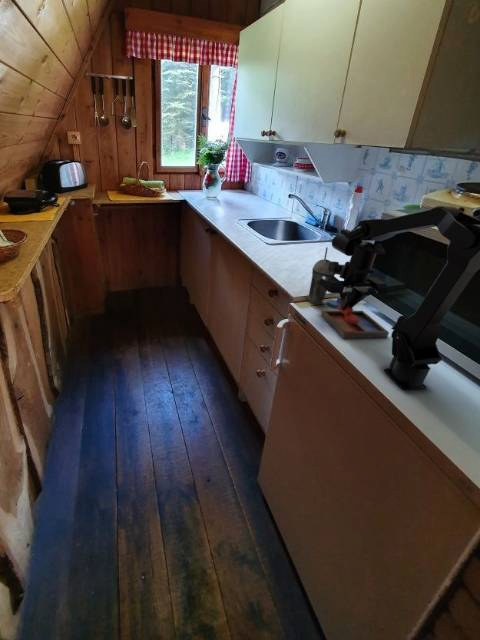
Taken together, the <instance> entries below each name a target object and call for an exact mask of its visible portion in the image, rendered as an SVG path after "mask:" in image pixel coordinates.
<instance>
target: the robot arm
mask: <svg viewBox="0 0 480 640" xmlns="http://www.w3.org/2000/svg"><path fill="white" fill-rule="evenodd" d="M431 228H437V230H438V231H439V233H440V234H441V236H442V237H444V238H445V239H447V240H448V241H449V243H448V245H447V248H446V249H447V250H446V251H447V252H446V253H447V255H446V256H447V261H446V263H445V265H444V267H443V268H442V270H441V271H440V273H439V275H438V276H437V278H436V279H435V281H434V282H433V284H432V286H431V287H430V288H429V290H428V291H427V293H426V295H425V296H424V298H423V300H422V301H421V303H420V304H419V306H418V307H417V308H416V311H414V313H413V314H409V315H408V314H407V315H399V317H398V318H397V320H396V322H395V324H394V325H393V326H392V327H391V330H392V332H391V336H390V338H391V355H392V356H393V357H392V359H391V361H390V363H389V365H388V367H389V368H388V367H387V368H384V369H383V372H384V373H385V374H386V375H387V376H388V377H390V379H391V380H392V381H394V383H395V384H396V385H397V386H398V387H399V388H400V389H401V390H403V391H413V390H426V389H427V386H426V384H424V382H425V380H426V378H427V376H428V374H429V372H430V370H431V367H430V365H437V364H438V363H441V361H442V360H443V358H442V356H441V353H440V351H439V348H438V346H437V341H438V340H439V337H440V323H441V322H442V321H443V319H444V318H445V317H446V316H447V314H448V313H449V311H450V310H451V308H452V307H453V306H454V304H455V302H456V301H457V299H458V298H459V297H460V295H461V294H462V293H463V291H464V289H466V287H467V286H468V284H469V283H470V281H471V280H472V278H473V277H474V276H475V274H476V273H477V272H478V271H479V270H480V219H478V218H477V217H474V216H471V215H470V214H467V213H466V212H464V211H462V210H461V209H459V208H457V207H455V206H449V205H448V206H446V205H437V206H434V207H432V208H429V209H424V210H420V211H415V212H411V213H407V214H403V215H398V216H394V217H390V218H367V219H366V218H365V219H361V220H359V221H358V223H357V225H356V226H355V227H354V228H353V229H351V230H349V229H346V228H341V229H340V232H338V233H337V234H336V235H334V237H333V238H332V240H331V246H332V248H333V249H334V250H336V251H338V252H339V253H341V254H343V255H345V256H346V257H350V259H349V261H346V262H345V263H344V264H340V262H339V261H331V260H329V261H330V264H329V267H328V270H329V272H333V274H334V276H323V277H321V279H320V283H319V284H320V285H321V286H322V287H323V288H325V289H326V290H327V292H328V293H330V294H339V297H340V300H341V309H342V310H345V309H346V308H347V306H348V305H349V306H350V307H351V308H352V309H353V308H354V307H355V306H356V305H357V304H359V303H360V302H361V301H363V300H364V299H365V298H367V297H370V296H371V293H370V292H369V289H375V292H376V294H378V295H387V292H388V289H389V287H388V284H387V283H386V282H384V281H383V280H381V279H380V278H378V277H377V276H370V275H372V274H374V273H375V269H373V268H372V267H373V265H374V262H375V259H376V257H377V254H378V255H379V254H385V253H386V251H385V248H383V246H382V244H381V243H372V242H382V241H385V240H388V239H391V238H393V237H394V236H395V235H398V234H402V233H408V232H414V231H420V230H424V229H431ZM336 275H339V276H338V277H339V278H340V279H343V280H340V279H338V278H337V277H336Z"/></svg>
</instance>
